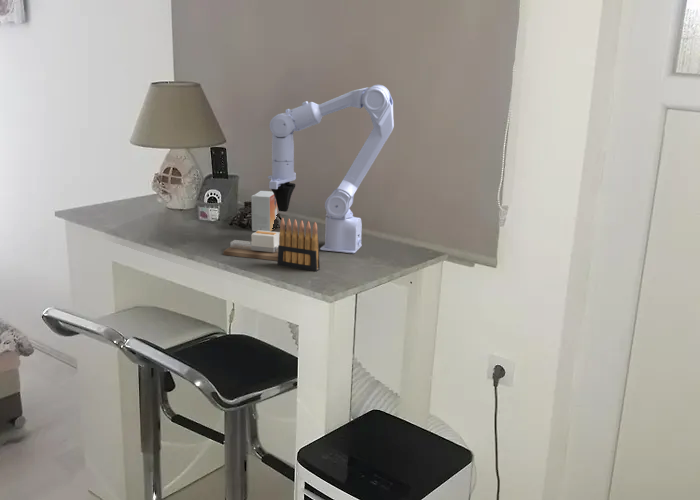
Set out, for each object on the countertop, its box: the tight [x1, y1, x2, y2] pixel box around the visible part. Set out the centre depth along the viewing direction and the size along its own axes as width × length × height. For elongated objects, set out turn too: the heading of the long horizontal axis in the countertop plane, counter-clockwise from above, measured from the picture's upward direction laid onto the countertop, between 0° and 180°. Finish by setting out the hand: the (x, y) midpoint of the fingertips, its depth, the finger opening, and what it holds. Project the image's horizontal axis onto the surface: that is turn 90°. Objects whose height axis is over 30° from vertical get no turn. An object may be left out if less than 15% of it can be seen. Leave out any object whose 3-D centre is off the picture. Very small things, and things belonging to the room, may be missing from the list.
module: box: [250, 230, 280, 253], centre depth 178 cm, size 6×4×4 cm
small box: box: [250, 190, 279, 232], centre depth 202 cm, size 8×6×10 cm
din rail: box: [230, 239, 279, 253], centre depth 179 cm, size 18×2×2 cm, turn 75°
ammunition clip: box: [277, 217, 321, 272], centre depth 168 cm, size 11×2×12 cm, turn 66°
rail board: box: [222, 246, 278, 262], centre depth 179 cm, size 19×9×1 cm, turn 75°
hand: (283, 210), depth 185 cm, fingers closed
